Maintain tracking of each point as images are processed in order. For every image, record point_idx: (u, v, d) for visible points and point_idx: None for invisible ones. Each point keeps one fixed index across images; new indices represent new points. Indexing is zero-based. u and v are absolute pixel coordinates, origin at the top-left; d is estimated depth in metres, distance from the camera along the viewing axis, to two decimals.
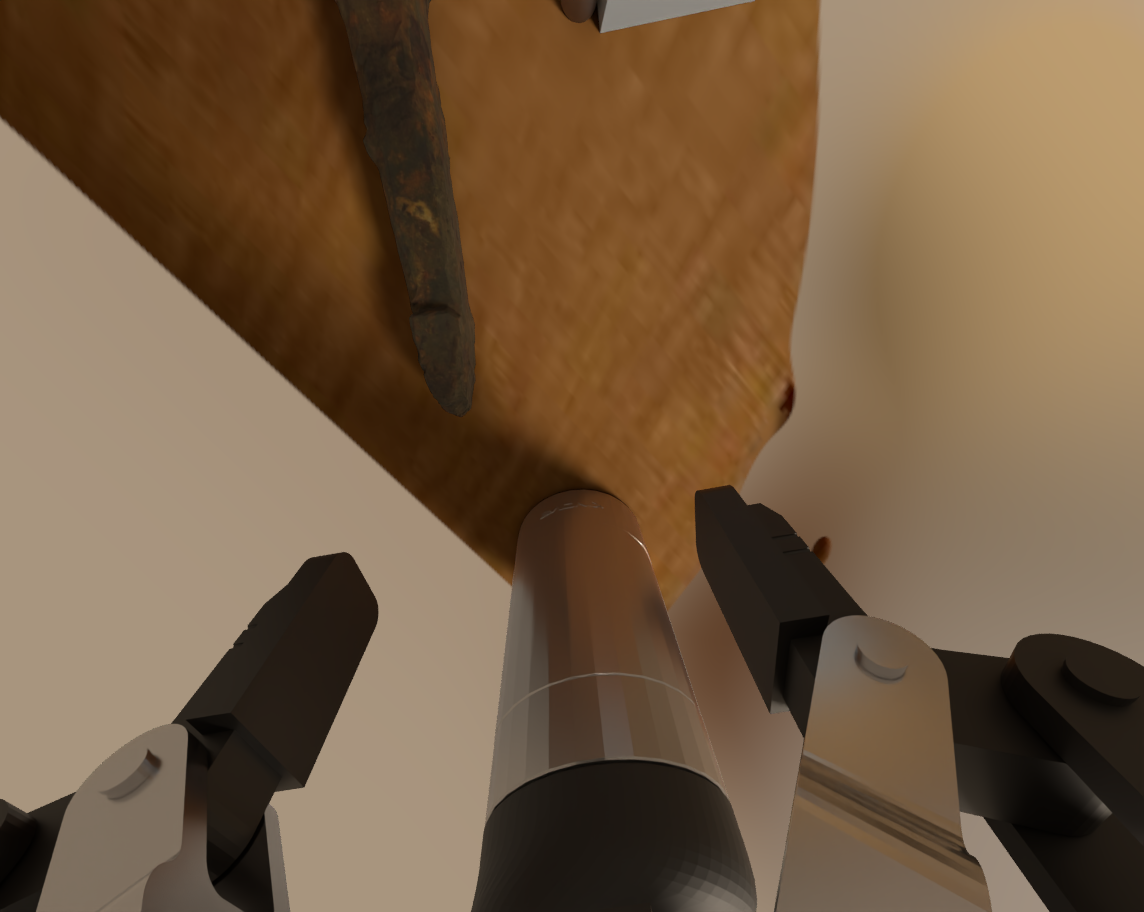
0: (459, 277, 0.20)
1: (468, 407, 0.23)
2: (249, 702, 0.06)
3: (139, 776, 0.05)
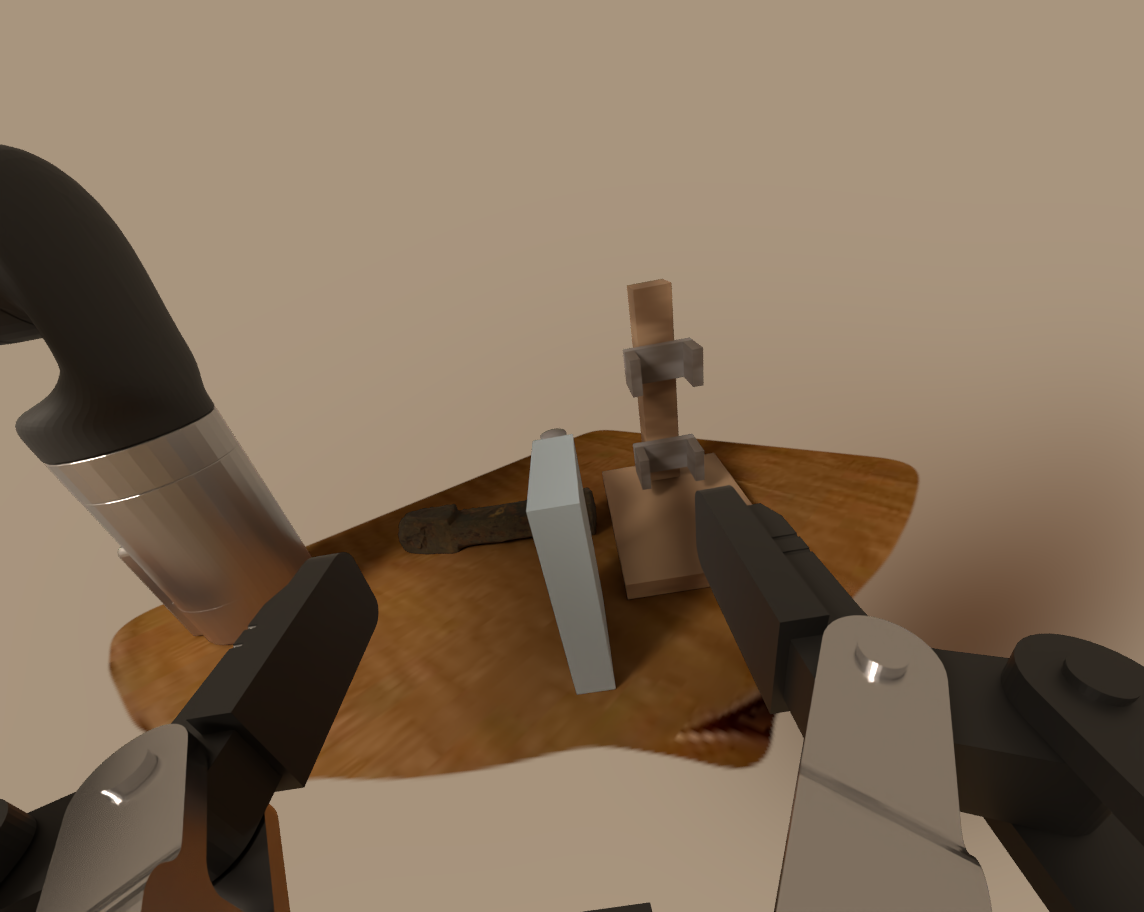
0: (469, 528, 0.37)
1: (400, 533, 0.38)
2: (249, 702, 0.06)
3: (138, 777, 0.05)
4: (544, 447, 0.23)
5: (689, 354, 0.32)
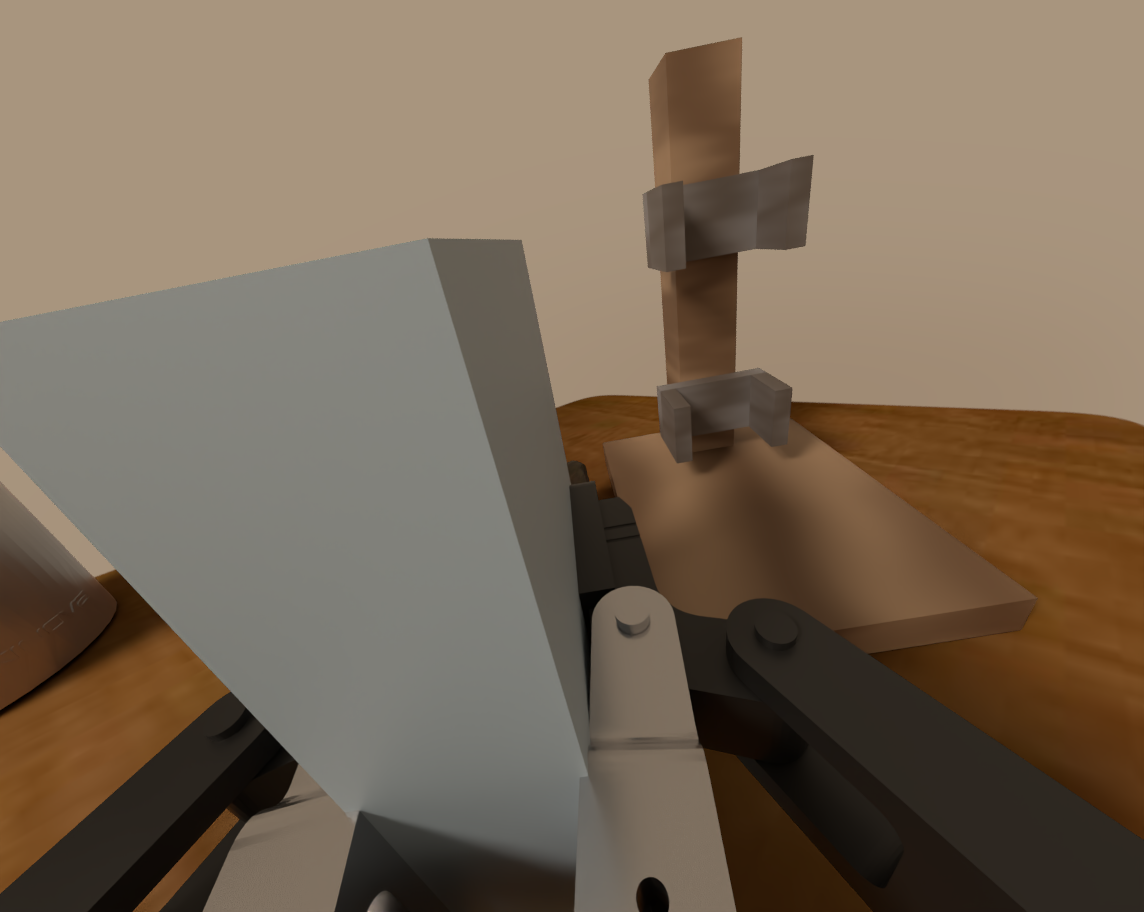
0: None
1: None
2: None
3: None
4: None
5: (778, 181, 0.16)
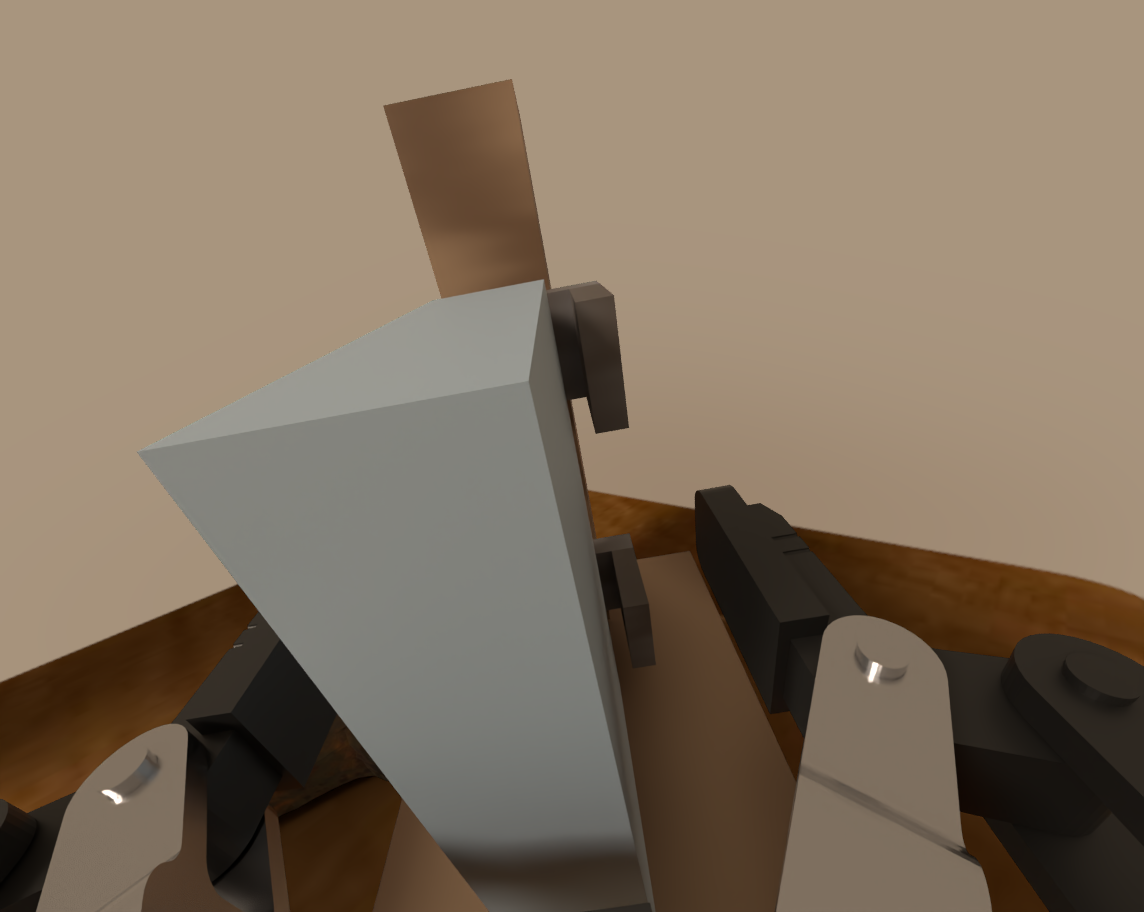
0: None
1: None
2: (249, 702, 0.06)
3: (139, 776, 0.05)
4: (456, 300, 0.08)
5: (576, 324, 0.09)
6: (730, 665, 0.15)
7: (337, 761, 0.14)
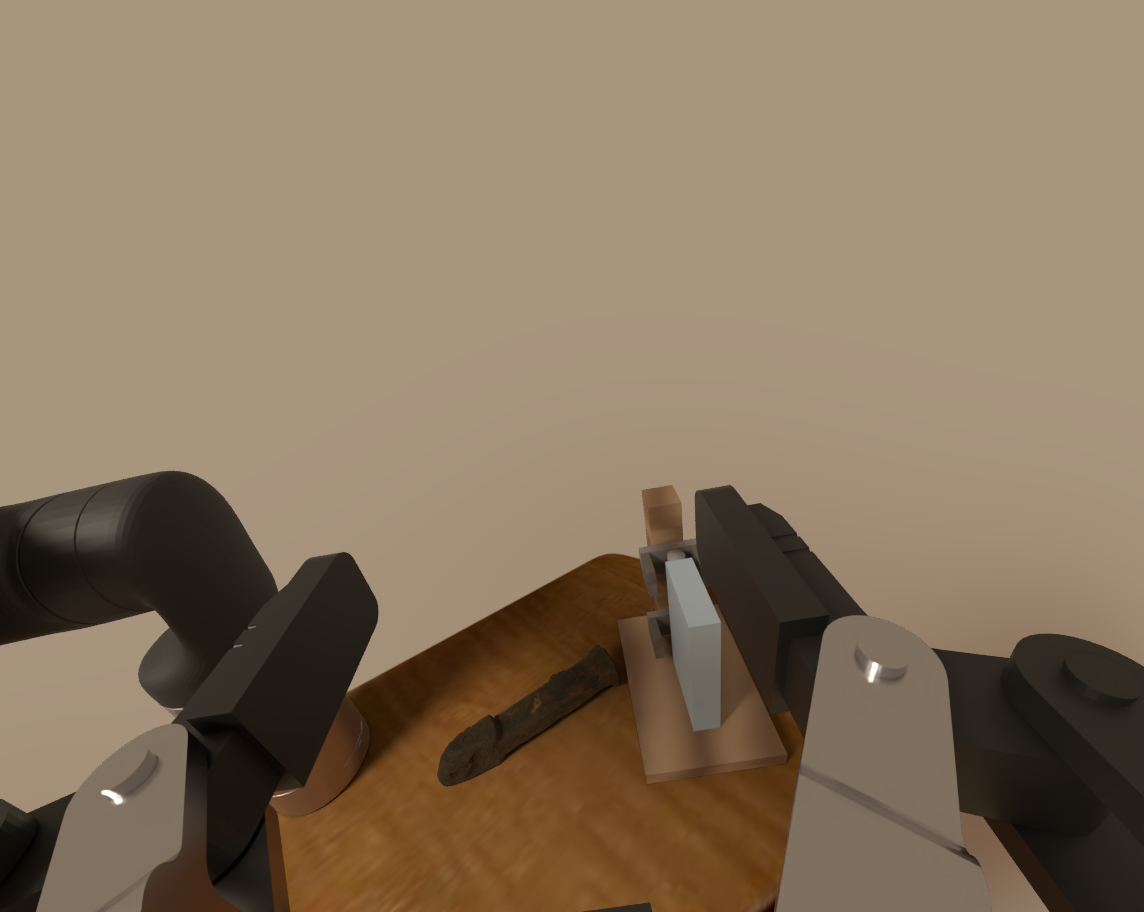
0: (516, 734, 0.38)
1: (445, 773, 0.36)
2: (249, 702, 0.06)
3: (139, 776, 0.05)
4: (676, 569, 0.35)
5: (696, 562, 0.37)
6: (734, 650, 0.43)
7: (605, 679, 0.42)
